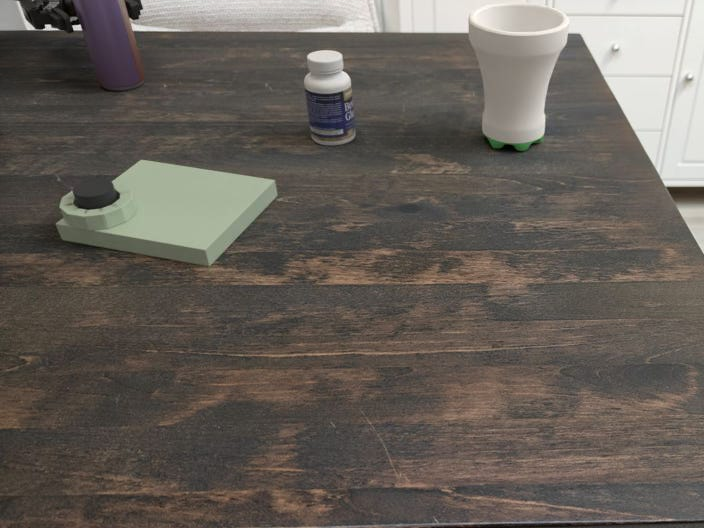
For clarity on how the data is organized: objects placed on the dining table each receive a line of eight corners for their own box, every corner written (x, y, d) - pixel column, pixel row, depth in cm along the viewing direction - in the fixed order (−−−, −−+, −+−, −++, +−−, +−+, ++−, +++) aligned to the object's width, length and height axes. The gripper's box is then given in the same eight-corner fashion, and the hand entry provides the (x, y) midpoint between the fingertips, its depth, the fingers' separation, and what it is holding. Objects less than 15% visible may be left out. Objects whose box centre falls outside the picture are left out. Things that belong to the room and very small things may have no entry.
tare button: (69, 208, 71) (63, 193, 70) (93, 190, 74) (88, 175, 72) (102, 213, 70) (97, 198, 69) (125, 195, 73) (120, 181, 72)
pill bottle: (357, 145, 89) (349, 63, 82) (311, 148, 88) (299, 65, 82) (355, 126, 93) (347, 46, 86) (311, 129, 92) (300, 48, 86)
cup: (477, 115, 96) (479, -2, 87) (563, 124, 94) (574, 6, 85) (458, 154, 88) (458, 29, 78) (551, 164, 86) (562, 38, 77)
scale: (58, 241, 72) (44, 209, 70) (144, 174, 83) (134, 145, 80) (208, 268, 69) (199, 236, 67) (277, 196, 80) (272, 165, 77)
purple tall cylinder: (127, 94, 99) (90, -29, 89) (90, 88, 100) (50, -34, 90) (155, 79, 103) (123, -41, 93) (120, 73, 105) (84, -46, 95)
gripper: (-7, -32, 99) (34, -3, 90) (100, -48, 106) (148, -23, 97) (15, 27, 104) (56, 60, 95) (116, 8, 111) (163, 36, 102)
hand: (102, 18), depth 96 cm, fingers open, 8 cm apart
